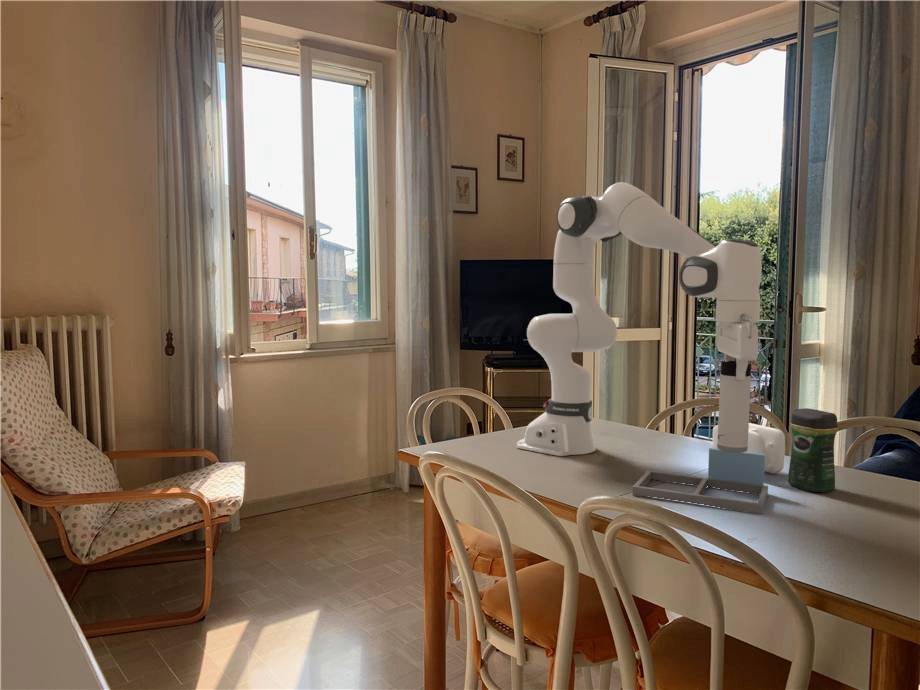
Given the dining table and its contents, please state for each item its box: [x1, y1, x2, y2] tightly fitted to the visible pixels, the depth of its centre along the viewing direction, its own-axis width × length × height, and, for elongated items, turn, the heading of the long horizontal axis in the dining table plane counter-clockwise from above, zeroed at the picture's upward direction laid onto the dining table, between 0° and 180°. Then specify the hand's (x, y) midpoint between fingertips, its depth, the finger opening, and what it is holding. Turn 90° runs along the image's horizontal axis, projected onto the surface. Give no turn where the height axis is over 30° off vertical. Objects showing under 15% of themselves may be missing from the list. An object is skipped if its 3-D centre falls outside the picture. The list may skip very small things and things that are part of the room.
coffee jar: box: [787, 407, 839, 493], centre depth 161 cm, size 10×8×19 cm
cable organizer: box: [711, 422, 786, 474], centre depth 176 cm, size 15×11×12 cm
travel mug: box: [717, 360, 752, 453], centre depth 151 cm, size 6×7×20 cm
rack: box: [632, 447, 769, 515], centre depth 157 cm, size 27×16×9 cm, turn 62°
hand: (735, 376), depth 151 cm, fingers closed on travel mug, 6 cm apart
